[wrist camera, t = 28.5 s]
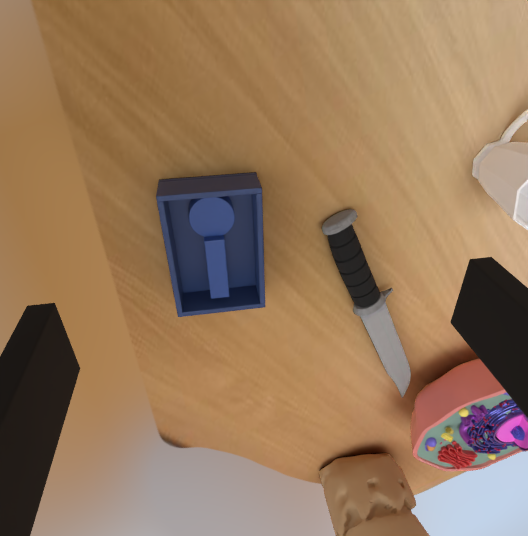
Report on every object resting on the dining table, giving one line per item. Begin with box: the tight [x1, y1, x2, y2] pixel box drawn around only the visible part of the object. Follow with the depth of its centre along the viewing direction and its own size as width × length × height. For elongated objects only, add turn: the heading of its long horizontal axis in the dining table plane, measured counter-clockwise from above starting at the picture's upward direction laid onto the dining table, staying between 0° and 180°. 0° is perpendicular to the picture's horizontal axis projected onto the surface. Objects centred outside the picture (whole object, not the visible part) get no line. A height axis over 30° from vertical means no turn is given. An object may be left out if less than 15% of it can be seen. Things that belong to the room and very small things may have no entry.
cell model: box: [410, 358, 528, 471], centre depth 53 cm, size 17×20×11 cm
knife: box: [322, 209, 411, 398], centre depth 47 cm, size 29×3×5 cm
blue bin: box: [156, 172, 265, 317], centre depth 38 cm, size 12×8×4 cm
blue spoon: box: [189, 196, 235, 299], centre depth 38 cm, size 10×4×3 cm, turn 1°
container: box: [319, 453, 429, 536], centre depth 58 cm, size 13×13×18 cm
